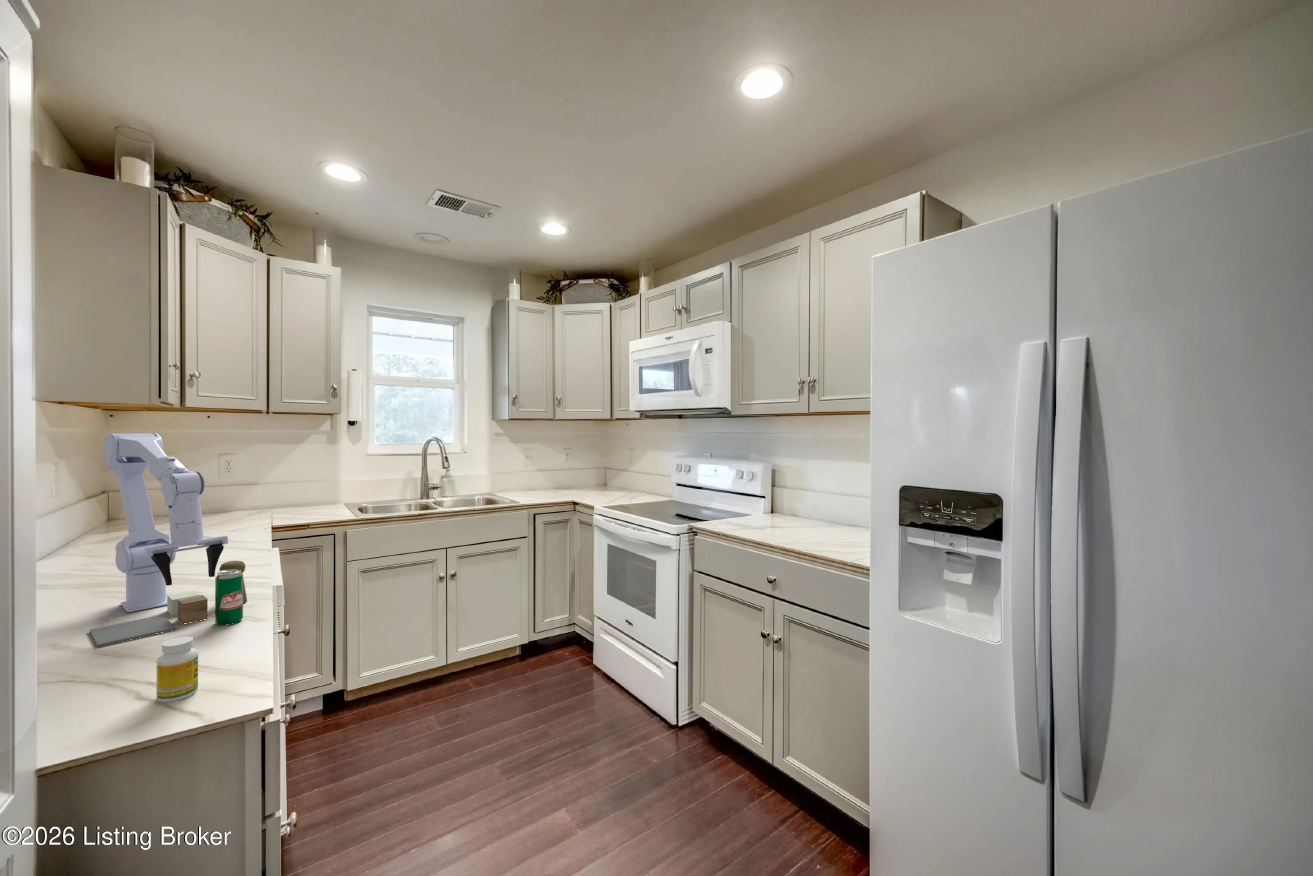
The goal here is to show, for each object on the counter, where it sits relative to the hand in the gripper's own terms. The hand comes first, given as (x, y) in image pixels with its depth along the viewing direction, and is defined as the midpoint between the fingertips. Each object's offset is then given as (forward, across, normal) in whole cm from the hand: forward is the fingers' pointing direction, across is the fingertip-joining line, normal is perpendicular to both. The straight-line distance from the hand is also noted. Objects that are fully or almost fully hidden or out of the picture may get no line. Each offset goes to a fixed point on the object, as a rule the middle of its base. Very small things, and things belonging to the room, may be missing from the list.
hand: (190, 580), depth 123 cm
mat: (+9, -10, +3) cm, 14 cm away
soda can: (+11, +5, -6) cm, 13 cm away
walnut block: (+9, 0, +2) cm, 10 cm away
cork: (+9, +9, +8) cm, 15 cm away
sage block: (+8, 0, +11) cm, 14 cm away
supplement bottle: (+15, -10, -39) cm, 43 cm away
